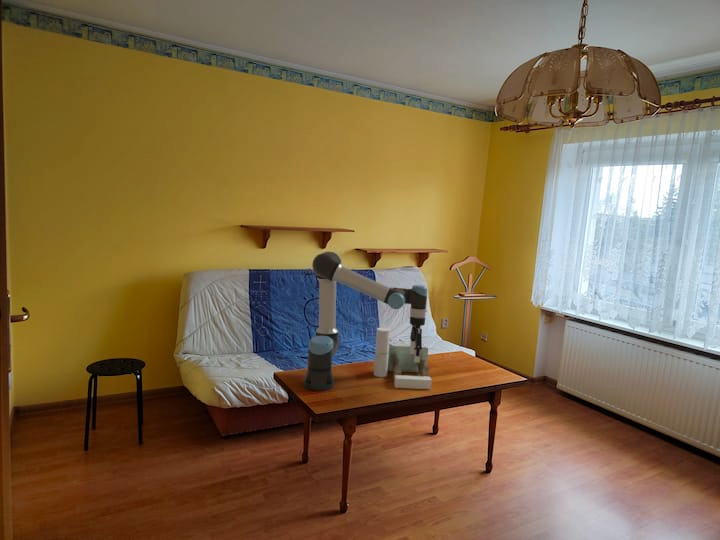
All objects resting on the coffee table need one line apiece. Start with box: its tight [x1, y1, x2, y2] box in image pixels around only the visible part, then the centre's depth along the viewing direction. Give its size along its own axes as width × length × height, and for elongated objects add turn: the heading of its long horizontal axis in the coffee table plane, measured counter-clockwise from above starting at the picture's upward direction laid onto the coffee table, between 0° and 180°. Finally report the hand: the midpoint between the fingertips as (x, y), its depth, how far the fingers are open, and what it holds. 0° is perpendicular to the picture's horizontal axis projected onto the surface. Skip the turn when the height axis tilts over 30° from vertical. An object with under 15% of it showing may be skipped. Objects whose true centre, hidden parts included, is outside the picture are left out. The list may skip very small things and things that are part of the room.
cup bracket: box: [387, 345, 430, 378], centre depth 247 cm, size 22×19×14 cm
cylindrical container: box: [373, 327, 391, 378], centre depth 247 cm, size 7×7×25 cm
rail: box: [393, 374, 433, 390], centre depth 234 cm, size 18×5×5 cm, turn 93°
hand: (414, 358), depth 233 cm, fingers open, 13 cm apart
